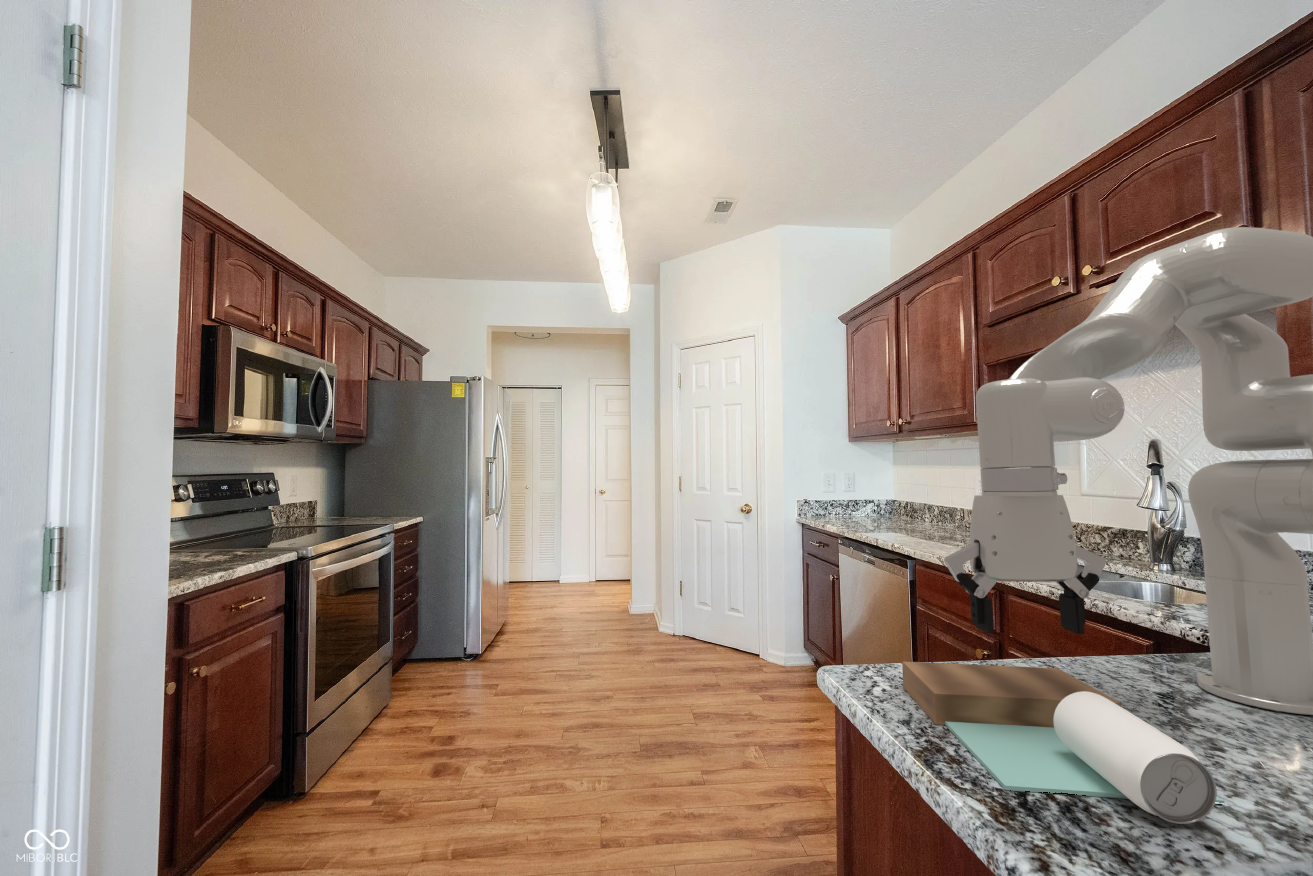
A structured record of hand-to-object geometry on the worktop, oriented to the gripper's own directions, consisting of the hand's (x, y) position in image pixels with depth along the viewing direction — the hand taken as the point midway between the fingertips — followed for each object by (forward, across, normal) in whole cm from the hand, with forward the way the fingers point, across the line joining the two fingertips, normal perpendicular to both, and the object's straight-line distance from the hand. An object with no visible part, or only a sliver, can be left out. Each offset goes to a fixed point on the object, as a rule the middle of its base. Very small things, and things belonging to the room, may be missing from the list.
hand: (1028, 630), depth 64 cm
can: (+7, -2, +6) cm, 10 cm away
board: (+11, +1, -6) cm, 13 cm away
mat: (+11, +1, +7) cm, 13 cm away
